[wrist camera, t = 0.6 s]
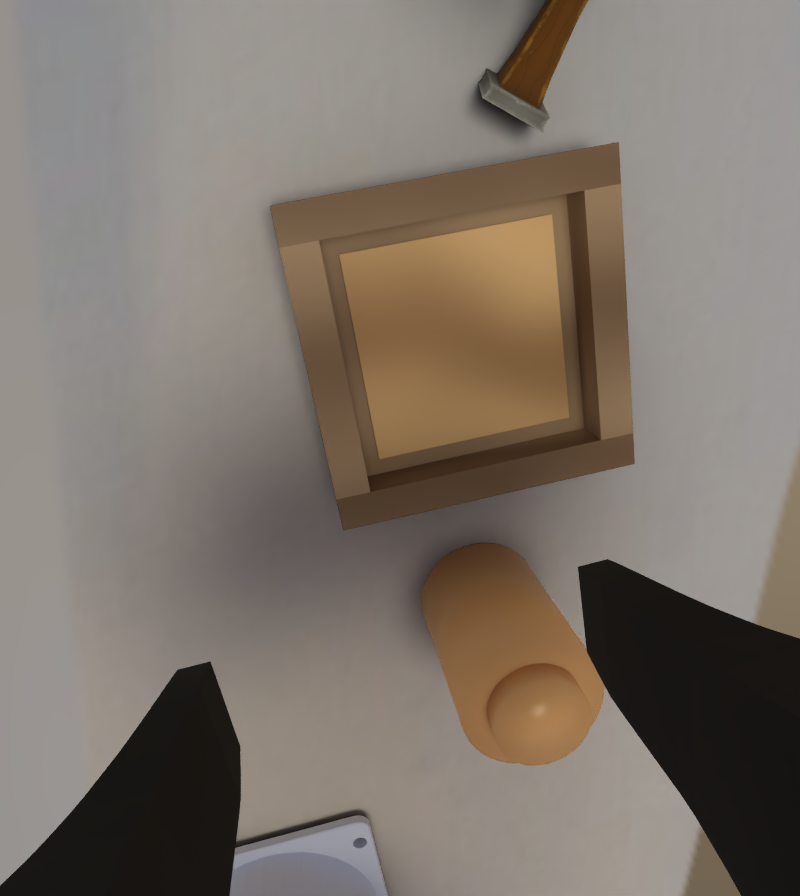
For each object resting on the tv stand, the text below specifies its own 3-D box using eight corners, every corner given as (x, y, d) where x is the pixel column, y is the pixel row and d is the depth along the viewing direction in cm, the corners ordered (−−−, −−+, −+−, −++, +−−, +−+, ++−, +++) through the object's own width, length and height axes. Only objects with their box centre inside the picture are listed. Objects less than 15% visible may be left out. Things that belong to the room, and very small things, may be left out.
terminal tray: (607, 444, 22) (634, 463, 20) (338, 505, 21) (343, 530, 19) (588, 148, 19) (618, 142, 17) (271, 206, 18) (269, 205, 16)
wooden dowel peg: (539, 629, 24) (621, 763, 18) (431, 655, 24) (479, 802, 18) (527, 531, 22) (613, 643, 17) (412, 558, 22) (458, 682, 16)
